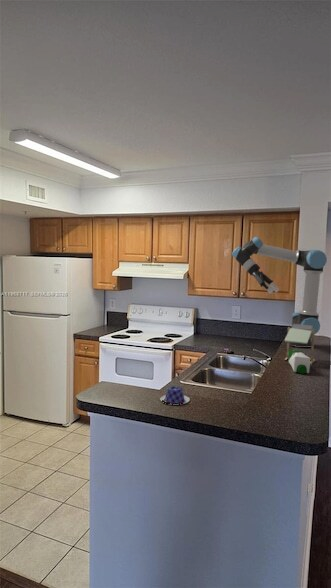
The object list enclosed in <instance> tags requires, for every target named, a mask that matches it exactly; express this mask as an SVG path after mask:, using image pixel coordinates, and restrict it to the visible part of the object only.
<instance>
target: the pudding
mask: <svg viewBox="0 0 331 588" xmlns="http://www.w3.org/2000/svg"><path fill="white" fill-rule="evenodd" d="M164 399H165V400H166V401H167V402H170V404H171V403H180V404H181V402H182V403H183V404H182V405H184V404H187V403H189V402H190V400H191V399H190V397H188V396H187V395H185V394H184V392H183V388H182V387H180V386H175V385H173V386H170V387H168V388H167V389H166V394H164V395H162V396H161V397H160V398H159V400H160V401H161V402H162V400H164ZM166 401H165V402H166ZM173 405H179V404H173Z"/></svg>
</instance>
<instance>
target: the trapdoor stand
mask: <svg viewBox="0 0 331 588" xmlns="http://www.w3.org/2000/svg"><path fill="white" fill-rule="evenodd" d="M290 328H291V326H288V327H287V330H286V331H287V332H286V333H287V334H288V332H289V329H290ZM314 330H315V329H312V338H311V341H312V347H311V348H310V350H311V351H310V352H311V353H310V357H309V358H310V360H311V361H310V364H311V365H312V364H313V363H314V362H315V361H316V359H315V358H314V355H315V354H314V351H315V350H314V349H315V334H314ZM287 334H286V335H287ZM289 350H290V346H289V342H286V357H285V358H283V359H284V360H287V359H288V357H289ZM287 361H288V360H287Z"/></svg>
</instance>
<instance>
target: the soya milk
mask: <svg viewBox="0 0 331 588" xmlns="http://www.w3.org/2000/svg"><path fill="white" fill-rule="evenodd" d="M310 358H311V357H309V356H308V355H305V353H304V352H303V350H295V349H289V357H288V360H287V363H288V364H290V366H291V368H292V370H293V372H294V373H299V374H302V375H303V374H310V369H311V365H310Z"/></svg>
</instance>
